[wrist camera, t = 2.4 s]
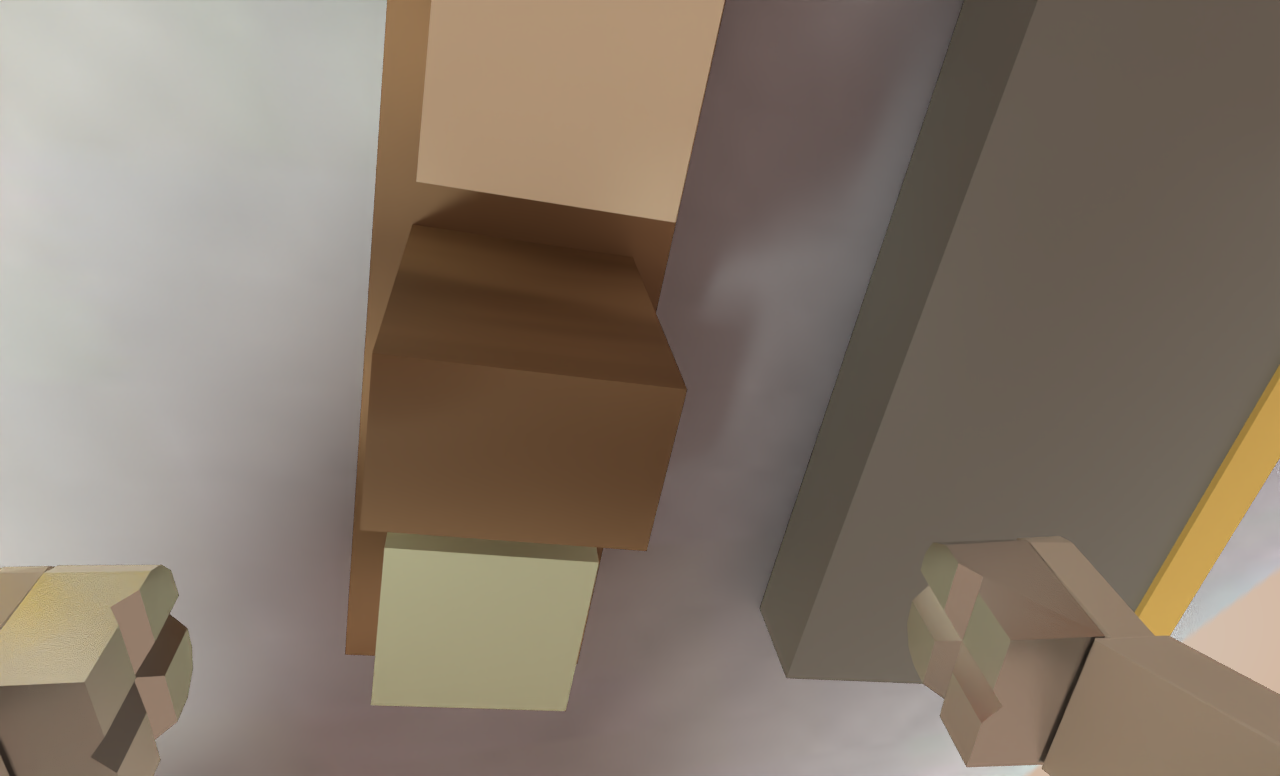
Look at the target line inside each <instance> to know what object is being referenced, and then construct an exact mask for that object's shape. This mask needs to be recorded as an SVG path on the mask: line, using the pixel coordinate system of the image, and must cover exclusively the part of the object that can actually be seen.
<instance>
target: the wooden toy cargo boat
mask: <svg viewBox="0 0 1280 776" xmlns="http://www.w3.org/2000/svg"><path fill="white" fill-rule="evenodd" d="M725 2H726V0H725ZM725 2H724V6H725ZM724 6H723V11H724ZM430 11H431V0H387V12H386V28H385V43H384V59H383V74H382V90H381V105H380V121H379V136H378V152H377V167H376V183H375V198H374V214H373V229H372V245H371V260H370V276H369V291H368V307H367V322H366V338H365V353H364V369H363V384H362V400H361V415H360V431H359V446H358V462H357V477H356V492H355V508H354V523H353V539H352V554H351V570H350V585H349V601H348V616H347V632H346V647H345V654H346V655H370V656H375V651H376V639H377V628H378V616H379V605H380V593H381V581H382V570H383V558H384V547H385V542H386V537H387V532H391V533H405V534H419V535H433V536H446V537H460V538H474V539H488V540H502V541H515V542H529V543H543V544H557V545H570V546H584V547H597V554H598V560H599V564H598V569H599V565H600V560H601V556H602V551H603V548H612V549H625V550H639V551H647V547H648V543H649V539H650V535H651V531H652V527H653V523H654V519H655V515H656V511H657V507H658V503H659V499H660V495H661V492H662V488H663V484H664V480H665V476H666V472H667V468H668V464H669V460H670V456H671V452H672V448H673V444H674V440H675V436H676V432H677V428H678V424H679V420H680V416H681V412H682V408H683V404H684V400H685V396H686V392H687V388H686V386H685V383H684V381H683V378H682V376H681V374H680V371H679V369H678V366H677V364H676V361H675V359H674V356H673V354H672V352H671V349H670V347H669V344H668V342H667V339H666V337H665V335H664V332H663V330H662V327H661V325H660V322H659V320H658V317H657V315H656V310H657V306H658V301H659V297H660V292H661V288H662V283H663V279H664V274H665V270H666V265H667V261H668V256H669V252H670V247H671V243H672V238H673V234H674V230H675V225H676V222H675V223H674V222H668V221H662V220H656V219H649V218H643V217H637V216H630V215H624V214H618V213H611V212H605V211H599V210H592V209H586V208H580V207H573V206H567V205H561V204H554V203H548V202H542V201H535V200H529V199H523V198H516V197H510V196H504V195H497V194H491V193H485V192H479V191H472V190H466V189H460V188H453V187H447V186H441V185H434V184H428V183H422V182H416V178H417V167H418V155H419V143H420V131H421V119H422V107H423V95H424V83H425V71H426V59H427V47H428V35H429V23H430ZM723 11H722V15H723ZM722 15H721V20H722ZM721 20H720V24H721ZM720 24H719V29H720ZM719 29H718V33H719ZM718 33H717V37H718ZM716 42H717V38H716ZM716 42H715V46H716ZM714 51H715V47H714ZM714 51H713V55H714ZM712 60H713V56H712ZM712 60H711V64H712ZM710 69H711V65H710ZM710 69H709V73H710ZM708 78H709V74H708ZM708 78H707V82H708ZM706 87H707V83H706ZM706 87H705V91H706ZM704 96H705V92H704ZM704 96H703V100H704ZM702 104H703V101H702ZM701 109H702V105H701ZM700 113H701V110H700ZM699 118H700V114H699ZM698 122H699V119H698ZM697 127H698V123H697ZM696 131H697V128H696ZM695 136H696V132H695ZM694 140H695V137H694ZM693 145H694V141H693ZM692 149H693V146H692ZM691 154H692V150H691ZM690 158H691V155H690ZM689 163H690V159H689ZM688 167H689V164H688ZM687 171H688V168H687ZM686 176H687V173H686ZM685 180H686V177H685ZM684 185H685V182H684ZM683 189H684V186H683ZM682 194H683V191H682ZM681 198H682V195H681ZM680 203H681V200H680ZM679 207H680V204H679ZM678 212H679V209H678ZM677 216H678V213H677ZM676 221H677V218H676ZM598 569H597V573H596V578H597V574H598ZM596 578H595V582H594V587H595V583H596ZM594 587H593V591H594ZM593 591H592V596H593ZM592 596H591V600H592ZM591 600H590V605H591ZM590 605H589V609H590ZM589 609H588V614H589ZM588 614H587V618H588ZM587 618H586V622H585V627H586V623H587ZM585 627H584V631H583V636H584V632H585ZM583 636H582V640H581V645H582V641H583ZM581 645H580V649H579V654H580V650H581ZM579 654H578V658H579ZM578 658H577V663H578ZM577 663H576V664H577Z"/></svg>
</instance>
